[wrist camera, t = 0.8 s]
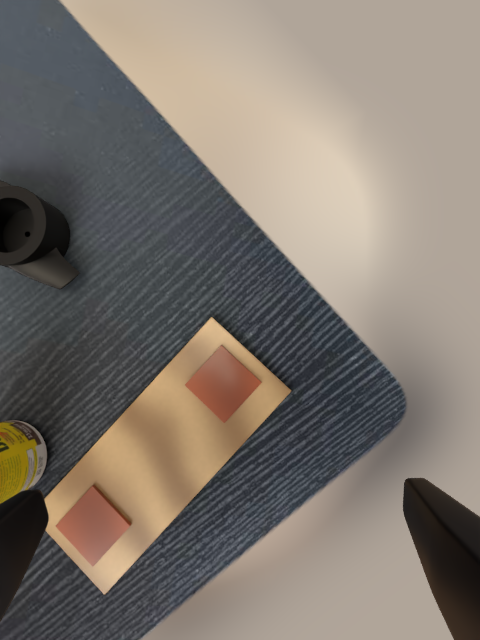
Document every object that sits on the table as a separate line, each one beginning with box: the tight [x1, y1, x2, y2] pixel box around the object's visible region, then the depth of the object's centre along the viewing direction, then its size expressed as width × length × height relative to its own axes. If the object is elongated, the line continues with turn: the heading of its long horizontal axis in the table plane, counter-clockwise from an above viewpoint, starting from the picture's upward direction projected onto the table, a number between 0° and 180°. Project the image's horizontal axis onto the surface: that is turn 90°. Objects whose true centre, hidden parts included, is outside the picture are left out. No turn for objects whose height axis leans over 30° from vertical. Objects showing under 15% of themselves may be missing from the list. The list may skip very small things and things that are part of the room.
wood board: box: [44, 317, 291, 595], centre depth 24 cm, size 20×8×1 cm, turn 137°
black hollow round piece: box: [0, 181, 80, 289], centre depth 25 cm, size 8×10×3 cm
